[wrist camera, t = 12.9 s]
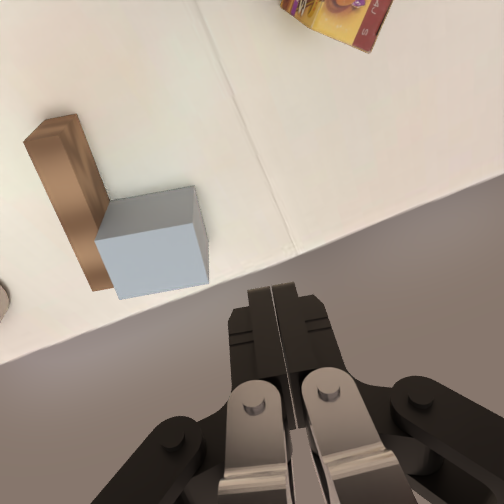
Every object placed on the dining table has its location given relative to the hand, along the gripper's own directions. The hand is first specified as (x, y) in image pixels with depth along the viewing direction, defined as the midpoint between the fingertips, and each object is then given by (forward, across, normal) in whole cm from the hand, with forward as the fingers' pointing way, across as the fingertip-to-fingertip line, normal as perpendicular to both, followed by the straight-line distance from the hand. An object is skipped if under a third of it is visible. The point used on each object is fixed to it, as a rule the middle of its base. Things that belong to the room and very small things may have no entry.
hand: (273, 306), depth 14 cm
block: (+32, +10, +13) cm, 36 cm away
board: (+32, +16, +8) cm, 37 cm away
